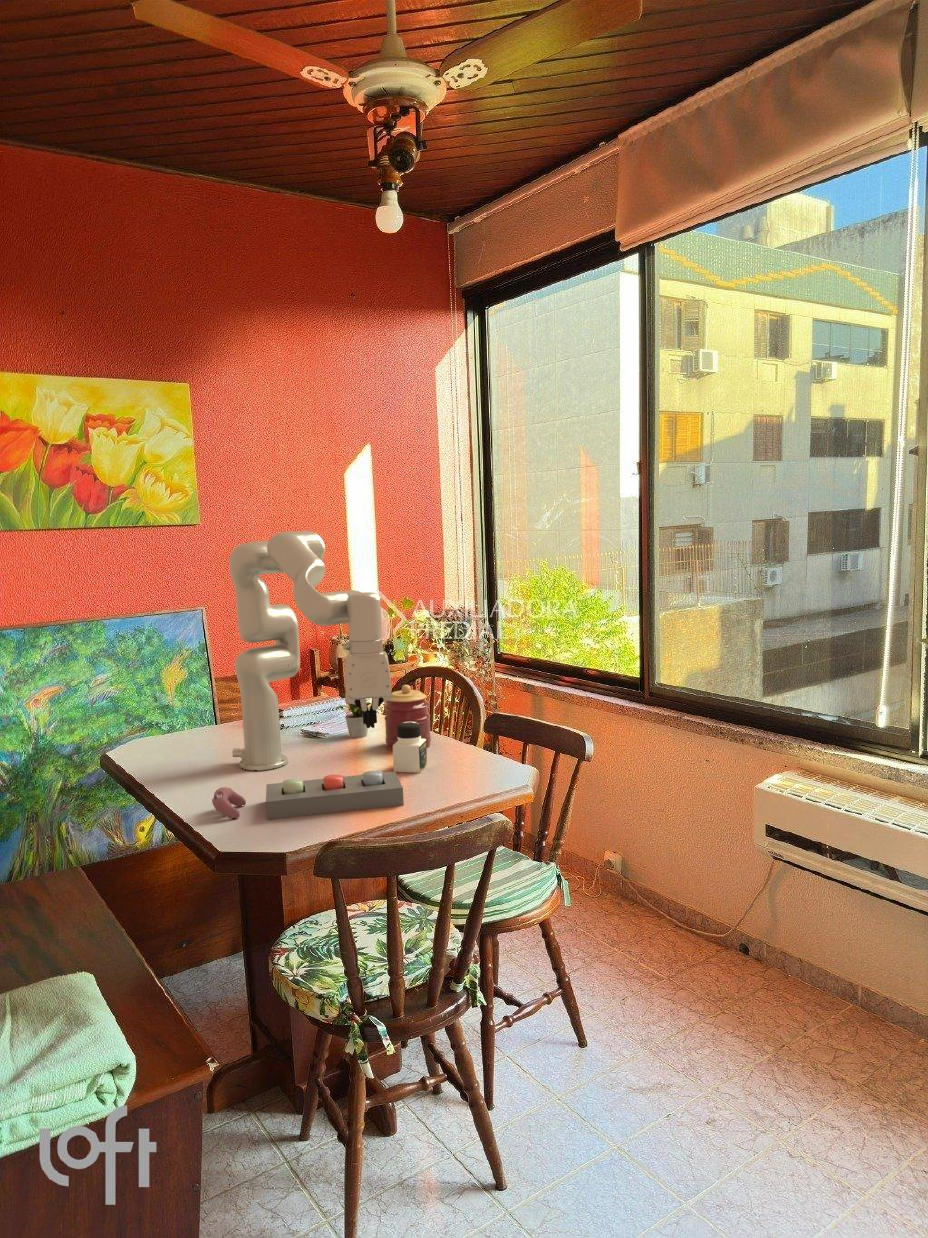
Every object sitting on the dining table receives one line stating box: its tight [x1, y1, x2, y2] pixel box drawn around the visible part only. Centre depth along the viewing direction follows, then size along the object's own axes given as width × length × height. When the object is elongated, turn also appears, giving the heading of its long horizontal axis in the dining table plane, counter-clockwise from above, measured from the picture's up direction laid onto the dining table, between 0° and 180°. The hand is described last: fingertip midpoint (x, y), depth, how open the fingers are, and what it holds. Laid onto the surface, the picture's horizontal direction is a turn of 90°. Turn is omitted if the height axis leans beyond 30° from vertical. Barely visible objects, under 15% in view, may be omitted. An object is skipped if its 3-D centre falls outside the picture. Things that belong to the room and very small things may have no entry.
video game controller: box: [211, 785, 247, 819], centre depth 190 cm, size 10×5×7 cm, turn 5°
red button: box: [322, 774, 344, 790], centre depth 193 cm, size 4×4×3 cm
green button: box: [282, 778, 304, 794], centre depth 192 cm, size 4×4×3 cm
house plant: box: [333, 684, 372, 739], centre depth 255 cm, size 14×14×16 cm
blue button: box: [362, 770, 383, 786], centre depth 195 cm, size 4×4×3 cm
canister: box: [383, 684, 432, 751], centre depth 241 cm, size 13×13×18 cm
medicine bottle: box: [392, 722, 428, 774], centre depth 218 cm, size 7×7×12 cm
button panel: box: [265, 771, 405, 820], centre depth 194 cm, size 30×13×4 cm, turn 102°
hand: (370, 726), depth 194 cm, fingers closed
